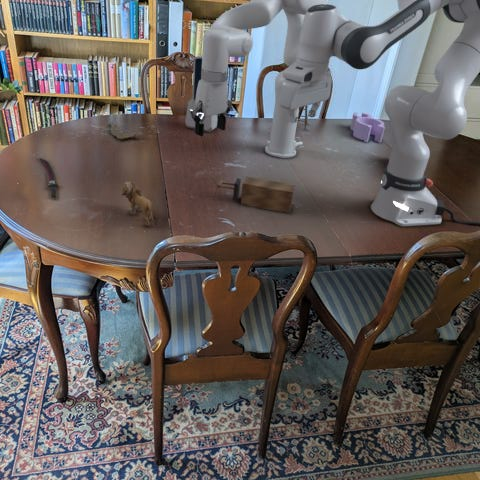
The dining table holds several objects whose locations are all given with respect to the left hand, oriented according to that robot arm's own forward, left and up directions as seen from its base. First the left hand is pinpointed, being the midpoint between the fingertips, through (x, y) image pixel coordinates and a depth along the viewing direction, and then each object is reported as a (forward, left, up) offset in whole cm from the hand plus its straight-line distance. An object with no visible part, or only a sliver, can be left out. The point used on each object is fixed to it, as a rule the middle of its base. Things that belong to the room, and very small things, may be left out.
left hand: (210, 132), depth 146 cm
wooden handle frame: (-7, +14, -18) cm, 24 cm away
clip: (-94, -20, -19) cm, 98 cm away
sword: (+45, -25, -19) cm, 55 cm away
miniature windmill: (-70, -39, -19) cm, 82 cm away
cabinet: (-12, +18, -19) cm, 29 cm away
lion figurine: (+28, +10, -19) cm, 35 cm away
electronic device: (-25, -50, -19) cm, 59 cm away
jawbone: (+7, -56, -19) cm, 60 cm away
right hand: (-18, +21, +9) cm, 29 cm away
